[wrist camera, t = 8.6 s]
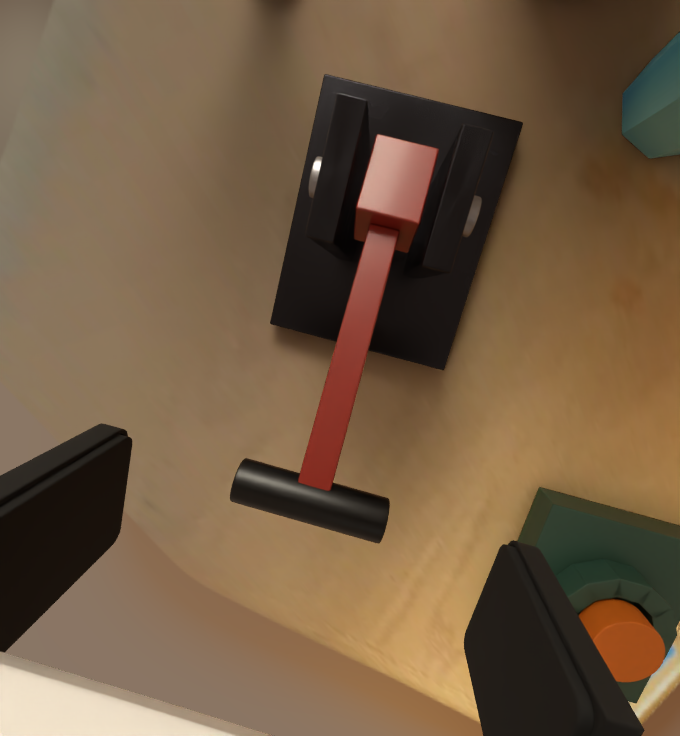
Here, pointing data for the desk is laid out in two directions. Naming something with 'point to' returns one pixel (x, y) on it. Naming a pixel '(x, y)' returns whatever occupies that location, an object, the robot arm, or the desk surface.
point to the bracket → (434, 235)
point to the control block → (610, 560)
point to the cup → (655, 105)
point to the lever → (350, 354)
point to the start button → (624, 639)
